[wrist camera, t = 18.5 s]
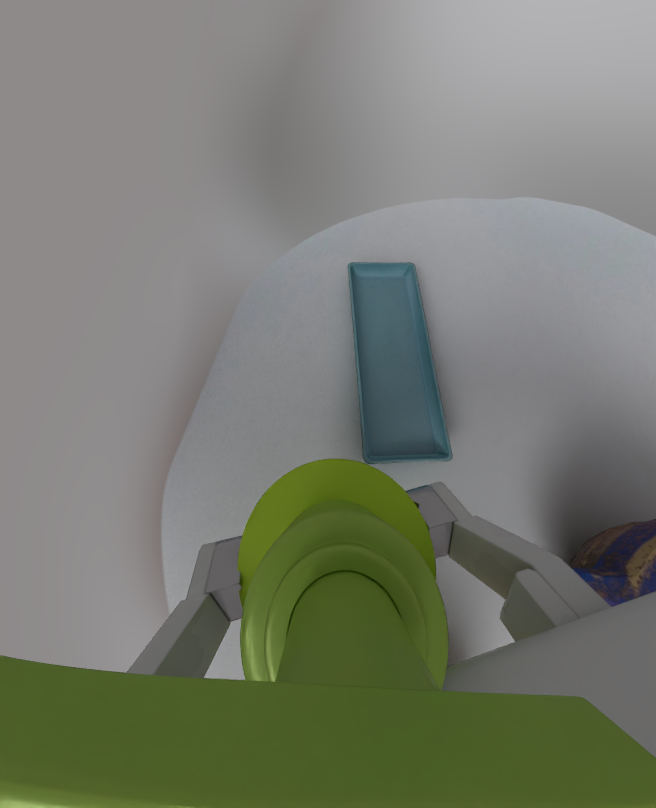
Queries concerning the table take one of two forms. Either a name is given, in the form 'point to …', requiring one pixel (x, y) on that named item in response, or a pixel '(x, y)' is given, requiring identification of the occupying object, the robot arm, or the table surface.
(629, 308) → the table surface
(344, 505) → the soap dispenser
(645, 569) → the bowl
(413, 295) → the rectangular tray
